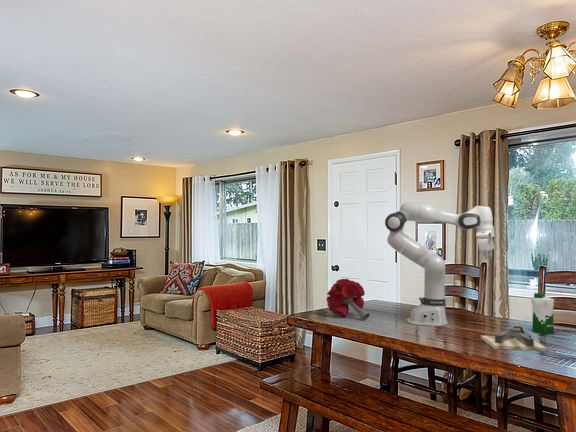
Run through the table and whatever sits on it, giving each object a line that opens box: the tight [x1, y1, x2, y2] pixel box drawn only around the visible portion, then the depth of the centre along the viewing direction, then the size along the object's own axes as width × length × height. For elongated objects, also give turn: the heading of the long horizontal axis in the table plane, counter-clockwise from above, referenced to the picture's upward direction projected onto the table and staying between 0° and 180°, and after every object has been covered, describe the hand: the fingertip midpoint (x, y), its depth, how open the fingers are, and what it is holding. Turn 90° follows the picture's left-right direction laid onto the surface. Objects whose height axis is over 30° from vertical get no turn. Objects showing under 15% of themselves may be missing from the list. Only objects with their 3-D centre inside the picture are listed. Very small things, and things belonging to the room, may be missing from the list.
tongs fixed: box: [505, 327, 535, 346], centre depth 194 cm, size 16×6×5 cm, turn 173°
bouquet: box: [326, 278, 370, 321], centre depth 252 cm, size 21×23×30 cm
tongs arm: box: [494, 330, 510, 343], centre depth 195 cm, size 13×3×3 cm, turn 135°
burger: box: [512, 322, 532, 338], centre depth 209 cm, size 12×12×8 cm
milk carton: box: [530, 292, 555, 335], centre depth 218 cm, size 9×9×20 cm
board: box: [480, 335, 548, 352], centre depth 194 cm, size 22×18×2 cm
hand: (488, 259), depth 230 cm, fingers open, 8 cm apart
